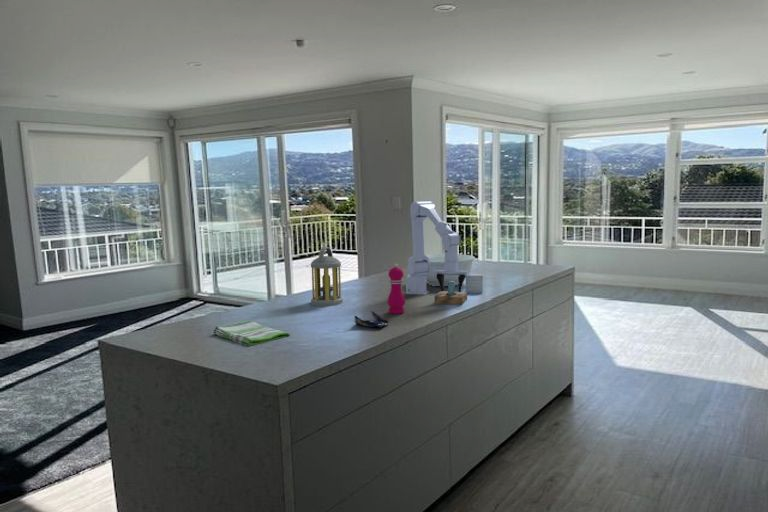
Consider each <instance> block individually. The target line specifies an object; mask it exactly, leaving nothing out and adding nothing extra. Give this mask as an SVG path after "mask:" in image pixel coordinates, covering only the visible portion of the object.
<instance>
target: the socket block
mask: <svg viewBox="0 0 768 512" xmlns="http://www.w3.org/2000/svg"><path fill="white" fill-rule="evenodd" d="M467 300H468V293H467V292H466V291H461V292H459V291H455V295H448V290H447V291H445V290H444V291H441V290H440V291H439V292H438V293H437V294H435V295H434V304H439V305H456V306H457V305H459V306H462V305H463V304H465V302H466V301H467Z"/></svg>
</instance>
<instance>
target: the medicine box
mask: <svg viewBox="0 0 768 512" xmlns="http://www.w3.org/2000/svg"><path fill="white" fill-rule="evenodd" d="M483 278H484V277H483V274H480V273H479V274H478V273H473V274H470V273H469V274H468V276H466V277H465V292H467V294H483V293H484V289H483V288H484V285H483V284H484V283H483V282H484V279H483Z"/></svg>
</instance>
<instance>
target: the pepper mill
mask: <svg viewBox="0 0 768 512" xmlns="http://www.w3.org/2000/svg"><path fill="white" fill-rule="evenodd" d="M388 277H389V278H390V280H389V281H390V282H389V283H390V285H391V286H390V292H389V295H388V298H387V303H386V304H388V306H389V308H388V313H389V314H390V313H394V314H393V315H401V314H400V313H402V314H404V313H405V308H404V306H405V305H406V298H405V296H404V294H403V291H402V284H403V279H402V278H403V277H404V271H403V269H402V268H400V267H399V265H398V263H394V264H393V267H391V268H390V269H389V271H388Z"/></svg>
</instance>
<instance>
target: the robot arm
mask: <svg viewBox="0 0 768 512" xmlns="http://www.w3.org/2000/svg"><path fill="white" fill-rule="evenodd" d="M409 208H410V209H409V210H410V219H411V233H412V235H411V237H412V238H411V239H412V255H411V256H410V257H408V259H407V260H408V264H407V272H408V274H407V275H406V279H405V285H406V287H405V288H406V289H405V290H406V292H405V294H406V295H420V294H421V295H422V294H423V295H425V296H426V295H427V294H429V292H430V291H429V290H427V289H428V288H427V282H428V281H427V280H426V275H428V272H429V271H430V264H429V258H428V257H427V256H426V255H427V254H425V241H424V240H425V239H424V237H425V235H424V221H425V219H427V218H428V219H429V220H430V221H431V222H432V224H433V225H434V226H435V227H434V229H435V232H436V233H437V234H438V235H439V237H440V238H441V244H442V246H443V251H444V254H445V270H435V271H434V275H437V276H436V277H437V279H438V281H439V284H440V291H445V287H444V275H460V276H459V277H458V280H459V285H458V291H457V292H462V287H463V284H464V281H465V280H466V276H468V271H461V270H458V254H459V253H458V251H459V250H458V249H459V247H458V246H459V245H460V244H461V241H462V240H461V235H460V234H459V232H455V231H453V230H452V228H451V227H450V226H449V225H448V222H447V221H445V220H444V221H443V220H442V219H441V217H440V216H439V214H438V213H437V211H436V205H435V203H434V202H433V201H432V200H428V201H427V200H426V201H415V200H414V201H413V202H412V203H411V205H410V207H409ZM418 260H422V261H418ZM447 273H448V274H447ZM423 295H422V296H423Z"/></svg>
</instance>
